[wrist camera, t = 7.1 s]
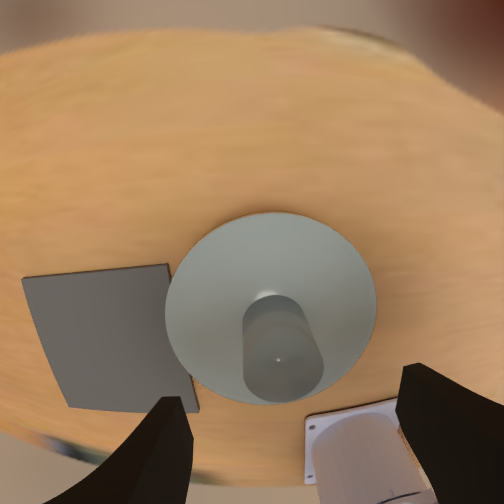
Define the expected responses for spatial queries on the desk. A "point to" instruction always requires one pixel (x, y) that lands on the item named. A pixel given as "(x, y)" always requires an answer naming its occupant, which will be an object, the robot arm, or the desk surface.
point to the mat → (109, 338)
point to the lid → (270, 308)
